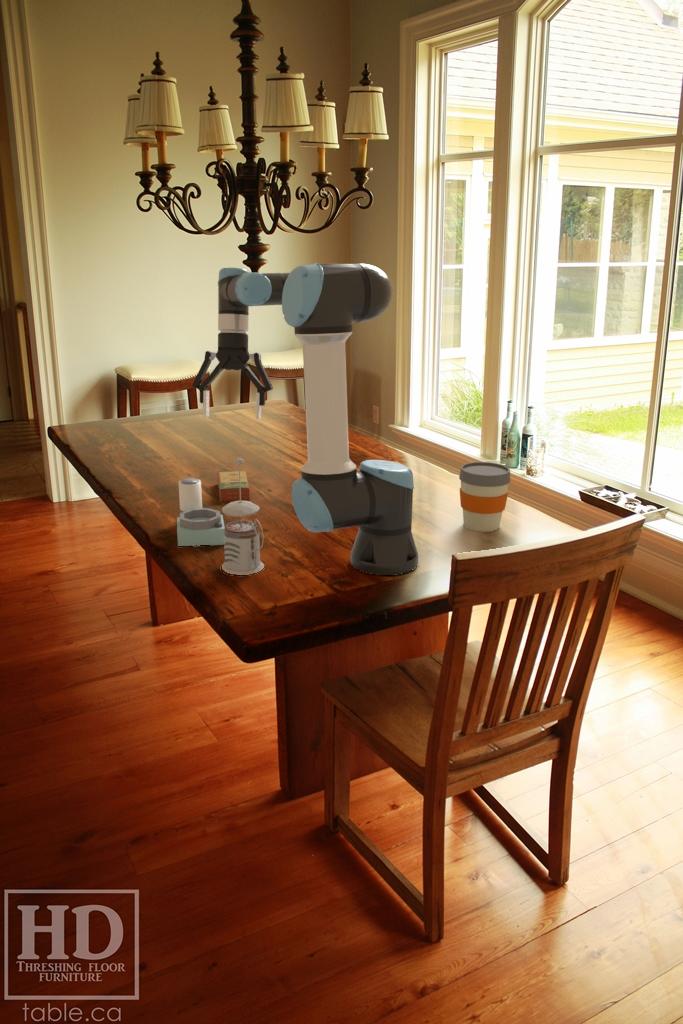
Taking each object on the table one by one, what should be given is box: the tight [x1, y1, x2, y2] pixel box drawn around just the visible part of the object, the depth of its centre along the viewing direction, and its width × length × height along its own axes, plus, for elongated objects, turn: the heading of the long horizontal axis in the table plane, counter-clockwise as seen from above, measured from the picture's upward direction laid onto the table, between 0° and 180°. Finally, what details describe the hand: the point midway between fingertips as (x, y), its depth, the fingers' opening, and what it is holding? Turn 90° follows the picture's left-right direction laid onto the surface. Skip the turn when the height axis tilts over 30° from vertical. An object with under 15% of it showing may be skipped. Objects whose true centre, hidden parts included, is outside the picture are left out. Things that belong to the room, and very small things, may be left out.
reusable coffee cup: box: [459, 461, 511, 533], centre depth 210 cm, size 13×12×15 cm
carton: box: [217, 470, 251, 503], centre depth 236 cm, size 8×16×4 cm, turn 10°
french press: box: [221, 457, 265, 576], centre depth 181 cm, size 10×12×25 cm
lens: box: [178, 477, 204, 514], centre depth 210 cm, size 6×6×11 cm
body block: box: [176, 507, 226, 547], centre depth 201 cm, size 10×11×6 cm
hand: (232, 417), depth 214 cm, fingers open, 13 cm apart
